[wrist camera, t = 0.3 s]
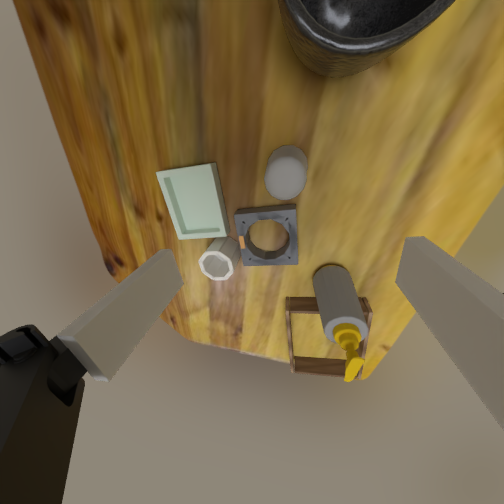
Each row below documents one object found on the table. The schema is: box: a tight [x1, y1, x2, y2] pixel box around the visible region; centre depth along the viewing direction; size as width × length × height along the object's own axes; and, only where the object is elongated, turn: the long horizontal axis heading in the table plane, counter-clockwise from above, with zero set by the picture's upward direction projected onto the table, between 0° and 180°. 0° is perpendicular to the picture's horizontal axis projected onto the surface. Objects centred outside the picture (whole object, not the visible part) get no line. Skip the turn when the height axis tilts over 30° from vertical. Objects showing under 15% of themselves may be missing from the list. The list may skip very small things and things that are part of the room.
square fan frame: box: [234, 204, 298, 266], centre depth 35 cm, size 10×10×3 cm
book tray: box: [286, 297, 373, 379], centre depth 45 cm, size 21×16×4 cm
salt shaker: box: [264, 145, 308, 200], centre depth 25 cm, size 6×6×13 cm
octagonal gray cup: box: [199, 236, 241, 280], centre depth 37 cm, size 6×6×6 cm
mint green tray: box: [156, 162, 230, 240], centre depth 35 cm, size 12×10×2 cm
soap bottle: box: [313, 265, 369, 382], centre depth 31 cm, size 7×7×18 cm
